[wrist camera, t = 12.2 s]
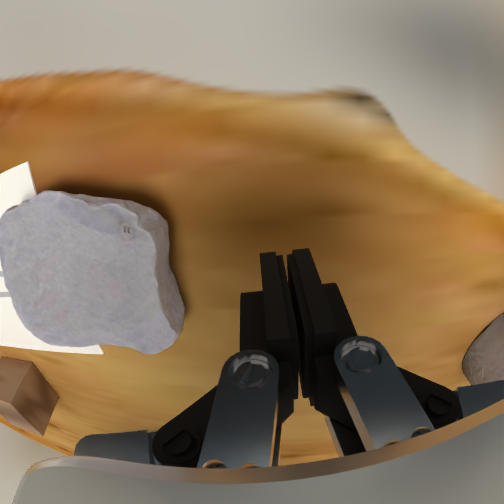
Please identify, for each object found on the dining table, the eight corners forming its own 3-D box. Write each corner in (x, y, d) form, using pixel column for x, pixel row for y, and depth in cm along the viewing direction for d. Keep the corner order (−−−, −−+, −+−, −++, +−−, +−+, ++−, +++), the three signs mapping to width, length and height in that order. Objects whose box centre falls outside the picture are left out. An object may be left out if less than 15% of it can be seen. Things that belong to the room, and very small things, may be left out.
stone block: (25, 193, 16) (49, 319, 19) (-17, 203, 11) (19, 351, 14) (178, 174, 17) (189, 324, 20) (160, 177, 12) (181, 367, 15)
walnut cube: (59, 396, 25) (43, 436, 20) (27, 389, 25) (11, 424, 20) (32, 361, 22) (10, 403, 17) (2, 356, 23) (-20, 392, 17)
